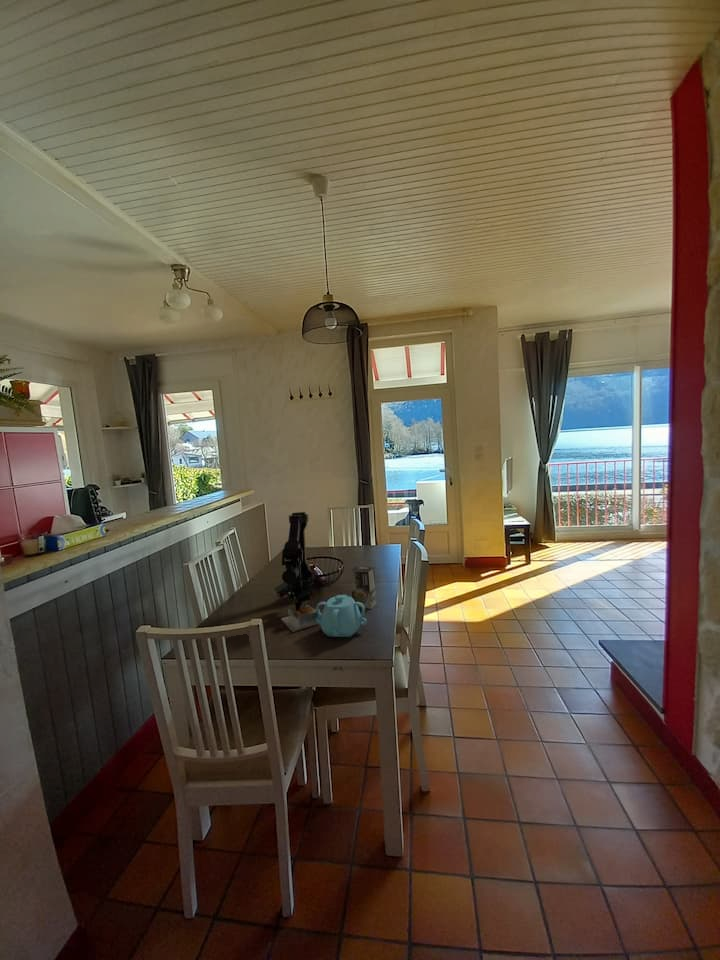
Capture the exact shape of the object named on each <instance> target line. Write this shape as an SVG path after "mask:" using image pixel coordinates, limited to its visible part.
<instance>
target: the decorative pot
mask: <svg viewBox="0 0 720 960" xmlns="http://www.w3.org/2000/svg"><path fill="white" fill-rule="evenodd" d="M357 605H359V606H361V611H360V609H359V608H360V607H358V606H357ZM320 606H324V607H323V610H322V612H321V610H320ZM315 609H316V611H317V614H318V616H319V617H318V618H317V619H316V623H317V625H320V628H321V631H322V632H323V634H324V635H326V636H327V637H330V638H333V637H334V638H343V637H344V638H350V637H352V636H353V635H354V634H355V633H357V631H358V630H359V629H360V626H365V625H366V624H368V623H367V622H368V620H367V618H365V617H364V615H365V611H366V608H365V607H364V605H363V604H362V603H360V602H355V601H354V599H353V598H352V596H349V595H347V594H338V595H335V596H333V597H330V598H329V599H328V600H327V601H320V602H318V603H317V604H316V607H315ZM321 614H322V615H321ZM318 619H320V621H319V620H318Z"/></svg>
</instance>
